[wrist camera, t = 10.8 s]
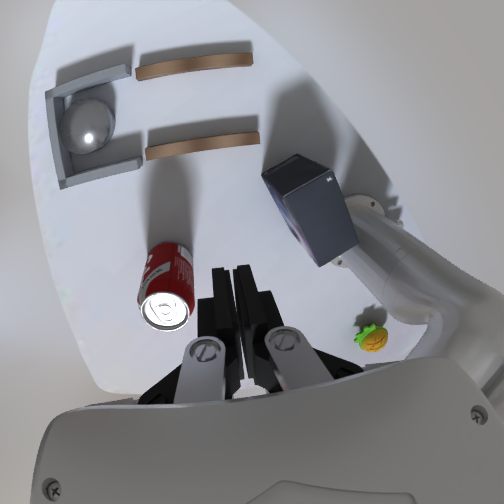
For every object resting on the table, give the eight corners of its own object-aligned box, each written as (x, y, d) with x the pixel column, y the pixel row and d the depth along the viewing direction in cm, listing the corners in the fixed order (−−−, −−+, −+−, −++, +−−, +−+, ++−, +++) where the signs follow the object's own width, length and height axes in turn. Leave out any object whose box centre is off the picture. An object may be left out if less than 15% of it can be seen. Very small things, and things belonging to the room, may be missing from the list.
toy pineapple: (365, 346, 59) (375, 361, 54) (343, 333, 55) (354, 350, 50) (386, 326, 57) (397, 341, 53) (366, 311, 53) (379, 327, 48)
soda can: (186, 234, 38) (186, 282, 28) (197, 275, 41) (201, 329, 31) (141, 245, 37) (126, 294, 27) (155, 284, 41) (147, 339, 30)
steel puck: (111, 92, 27) (104, 90, 24) (119, 142, 30) (113, 145, 28) (65, 110, 26) (55, 110, 24) (74, 157, 30) (65, 161, 27)
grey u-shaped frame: (130, 67, 26) (125, 63, 23) (142, 165, 32) (138, 169, 30) (55, 92, 24) (45, 91, 22) (69, 184, 31) (60, 189, 28)
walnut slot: (249, 56, 28) (252, 52, 27) (256, 142, 34) (260, 143, 32) (138, 70, 26) (135, 68, 25) (149, 158, 32) (146, 160, 30)
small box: (257, 175, 36) (280, 196, 27) (298, 152, 36) (333, 165, 27) (290, 235, 41) (318, 270, 32) (326, 213, 41) (362, 242, 32)
